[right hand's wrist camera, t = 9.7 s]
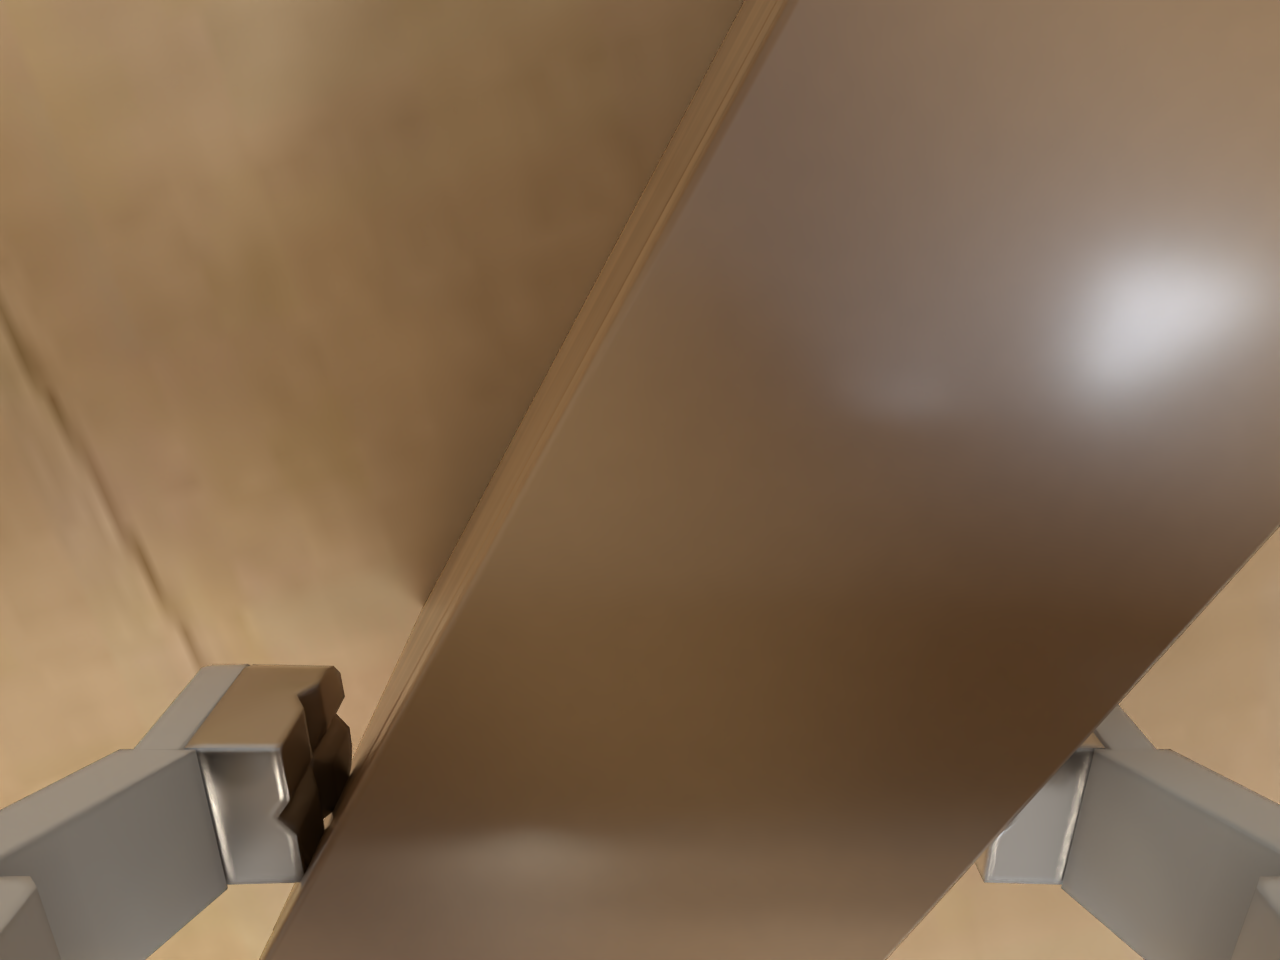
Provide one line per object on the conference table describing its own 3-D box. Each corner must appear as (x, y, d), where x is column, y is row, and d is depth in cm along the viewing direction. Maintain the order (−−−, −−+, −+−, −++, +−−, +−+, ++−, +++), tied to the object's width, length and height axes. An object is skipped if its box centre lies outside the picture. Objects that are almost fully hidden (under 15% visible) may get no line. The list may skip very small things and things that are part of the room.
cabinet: (1054, -585, 10) (2145, -2495, 3) (1382, -304, 11) (2835, -1175, 4) (421, 609, 17) (235, 1007, 9) (672, 726, 17) (697, 1173, 10)
